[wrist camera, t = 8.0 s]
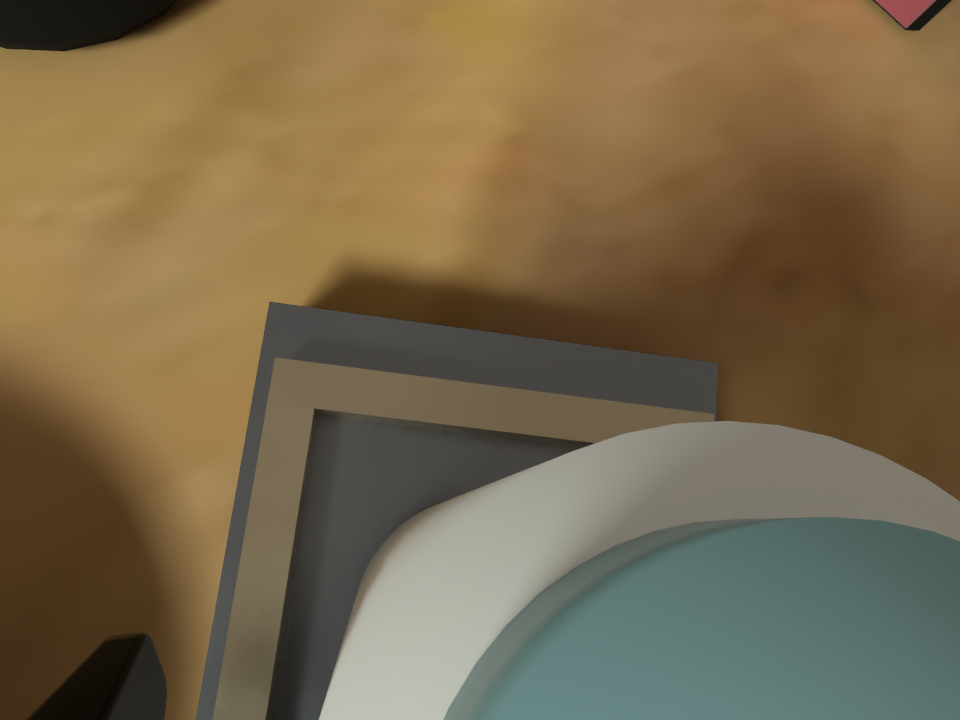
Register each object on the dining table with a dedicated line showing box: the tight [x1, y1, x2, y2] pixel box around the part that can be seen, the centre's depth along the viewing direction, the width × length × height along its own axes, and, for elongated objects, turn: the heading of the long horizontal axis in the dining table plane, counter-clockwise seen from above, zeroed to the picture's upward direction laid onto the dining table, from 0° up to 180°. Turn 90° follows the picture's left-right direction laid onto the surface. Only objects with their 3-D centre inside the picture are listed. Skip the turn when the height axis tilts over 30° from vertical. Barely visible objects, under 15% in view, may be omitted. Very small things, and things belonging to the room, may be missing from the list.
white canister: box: [319, 421, 960, 720], centre depth 10 cm, size 5×5×14 cm
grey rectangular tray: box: [196, 302, 718, 720], centre depth 17 cm, size 13×11×4 cm
